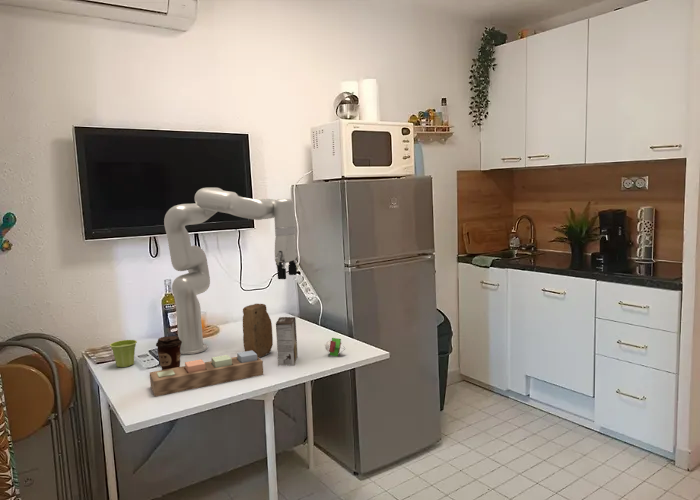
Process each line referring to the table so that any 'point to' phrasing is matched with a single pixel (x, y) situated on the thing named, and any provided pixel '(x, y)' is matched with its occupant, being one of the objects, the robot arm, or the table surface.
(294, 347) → the coffee box
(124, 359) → the plant pot
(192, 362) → the terracotta button
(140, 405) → the table surface
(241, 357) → the slate button
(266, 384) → the table surface
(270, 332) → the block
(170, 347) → the coffee cup
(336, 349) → the geometric puzzle
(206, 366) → the button panel
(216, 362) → the sage button
